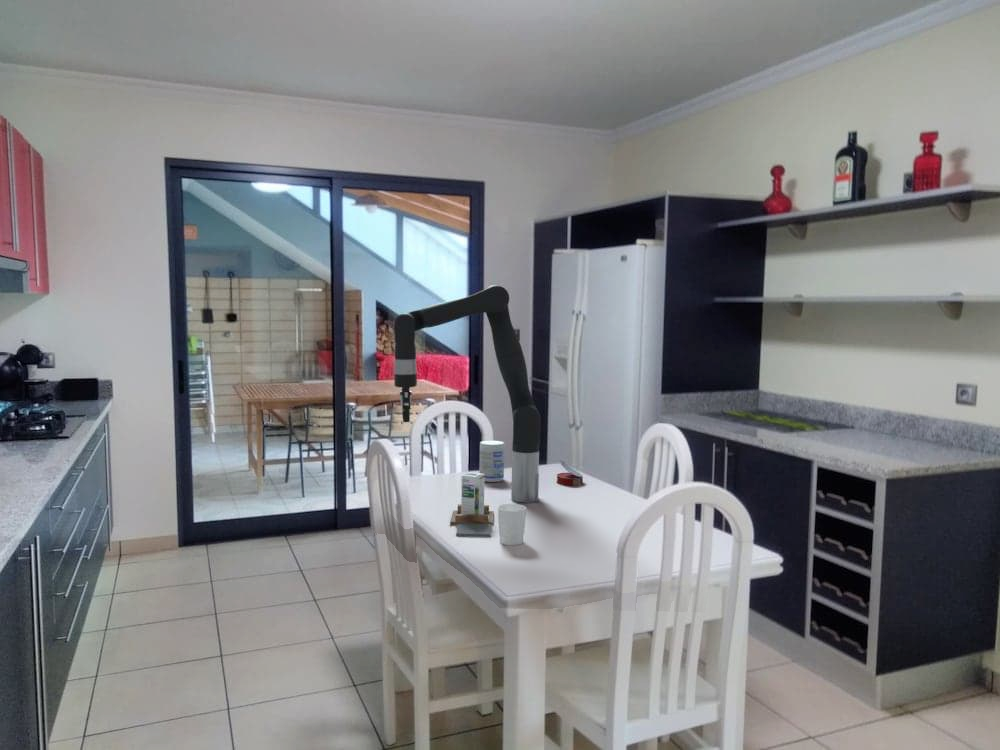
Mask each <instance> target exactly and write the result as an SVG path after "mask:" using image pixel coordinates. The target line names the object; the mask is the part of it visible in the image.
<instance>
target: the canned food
mask: <svg viewBox="0 0 1000 750" xmlns="http://www.w3.org/2000/svg"><path fill="white" fill-rule="evenodd" d="M559 463H560V465H561V466H562V468H563V469H564V470H565V471H567V472H560V473H557V474H556V484H558V485H561V486H565V487H576V486H577V485H578V486H582V485H583V478H584V477H583V475H582V474H581V473H580V472H578V471H577V470H575V469H573V468H572V467H570V466H569V465H568V464H566V463H565V461H564V460H560V461H559ZM581 484H582V485H581Z"/></svg>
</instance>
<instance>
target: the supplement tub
mask: <svg viewBox="0 0 1000 750" xmlns="http://www.w3.org/2000/svg"><path fill="white" fill-rule="evenodd" d="M478 470H479V472H478V473H480V474H485V482H484V483H498V482H502V481H503V480H504V476H505V472H504V471H505V441H500V440H483V441H482V440H481V441H480V442H479V468H478Z"/></svg>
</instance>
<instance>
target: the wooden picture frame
mask: <svg viewBox="0 0 1000 750" xmlns="http://www.w3.org/2000/svg"><path fill="white" fill-rule="evenodd" d="M494 512H495V511H493V510H490V504H484V515H479V514H461V503H459V504H457V509H456V510H455V509H454V510H452V513H451V517H450V522H449V525H450V526H458V523H469V524H491V527H492V526H494Z"/></svg>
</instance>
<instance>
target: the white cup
mask: <svg viewBox="0 0 1000 750" xmlns="http://www.w3.org/2000/svg"><path fill="white" fill-rule="evenodd" d="M497 510H498V513H497V516H498V518H497V519H498V532H499V543H501V544H502V545H505V546H506V545H507V546H518V545H521V544H524V535H525V527H526V514H527V507H526V506H525V505H523V504H518V503H504V504H503V503H502V504H500V505H499V506H498V507H497Z"/></svg>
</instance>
